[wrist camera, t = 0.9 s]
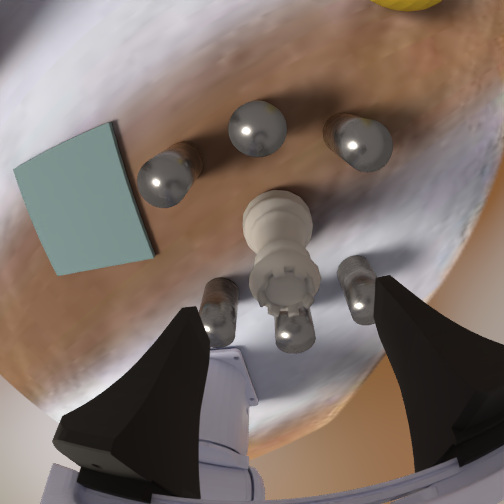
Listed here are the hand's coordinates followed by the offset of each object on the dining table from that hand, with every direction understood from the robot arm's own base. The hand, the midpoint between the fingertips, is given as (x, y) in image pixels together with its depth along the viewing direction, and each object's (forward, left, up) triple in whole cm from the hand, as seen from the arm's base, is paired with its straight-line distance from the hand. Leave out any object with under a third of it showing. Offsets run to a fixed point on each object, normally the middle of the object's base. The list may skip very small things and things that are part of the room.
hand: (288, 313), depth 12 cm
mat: (+4, +14, -9) cm, 17 cm away
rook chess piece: (0, 0, -9) cm, 9 cm away
